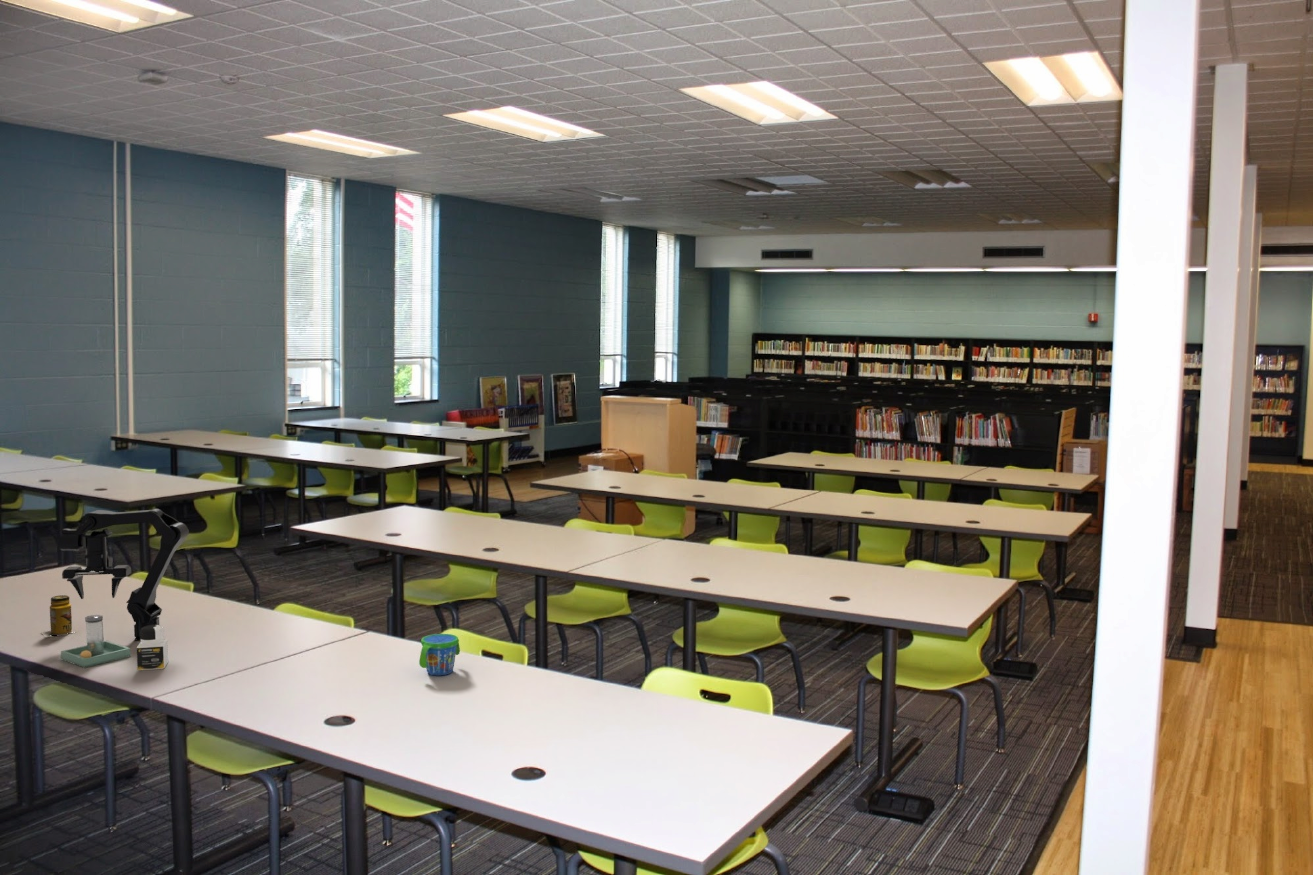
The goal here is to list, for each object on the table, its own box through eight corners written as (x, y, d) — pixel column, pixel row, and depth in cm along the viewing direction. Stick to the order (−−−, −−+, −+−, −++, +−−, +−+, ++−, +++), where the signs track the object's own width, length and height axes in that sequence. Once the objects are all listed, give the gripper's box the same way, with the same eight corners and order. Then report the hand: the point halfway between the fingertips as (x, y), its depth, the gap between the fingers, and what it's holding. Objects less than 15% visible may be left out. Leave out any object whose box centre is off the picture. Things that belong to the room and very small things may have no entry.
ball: (93, 658, 304) (92, 648, 304) (89, 661, 301) (89, 651, 301) (82, 659, 303) (81, 649, 303) (78, 662, 300) (78, 652, 300)
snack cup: (446, 662, 306) (446, 629, 305) (472, 668, 300) (472, 634, 299) (407, 676, 293) (406, 641, 292) (433, 683, 287) (433, 647, 286)
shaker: (101, 652, 310) (99, 613, 308) (107, 655, 307) (104, 616, 305) (85, 655, 306) (82, 616, 305) (90, 659, 303) (88, 619, 302)
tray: (107, 648, 316) (106, 640, 316) (130, 656, 308) (130, 648, 308) (61, 659, 305) (60, 651, 304) (84, 667, 297) (84, 659, 297)
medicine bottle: (137, 670, 295) (135, 630, 294) (142, 663, 302) (141, 623, 301) (164, 669, 297) (162, 628, 296) (168, 661, 304) (167, 622, 303)
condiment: (76, 633, 332) (74, 597, 331) (46, 638, 326) (44, 601, 325) (69, 628, 337) (68, 592, 336) (40, 633, 332) (39, 597, 330)
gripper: (135, 544, 334) (137, 591, 335) (73, 546, 330) (75, 593, 332) (124, 551, 323) (126, 599, 324) (60, 553, 319) (62, 601, 321)
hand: (98, 598), depth 326 cm, fingers open, 9 cm apart
